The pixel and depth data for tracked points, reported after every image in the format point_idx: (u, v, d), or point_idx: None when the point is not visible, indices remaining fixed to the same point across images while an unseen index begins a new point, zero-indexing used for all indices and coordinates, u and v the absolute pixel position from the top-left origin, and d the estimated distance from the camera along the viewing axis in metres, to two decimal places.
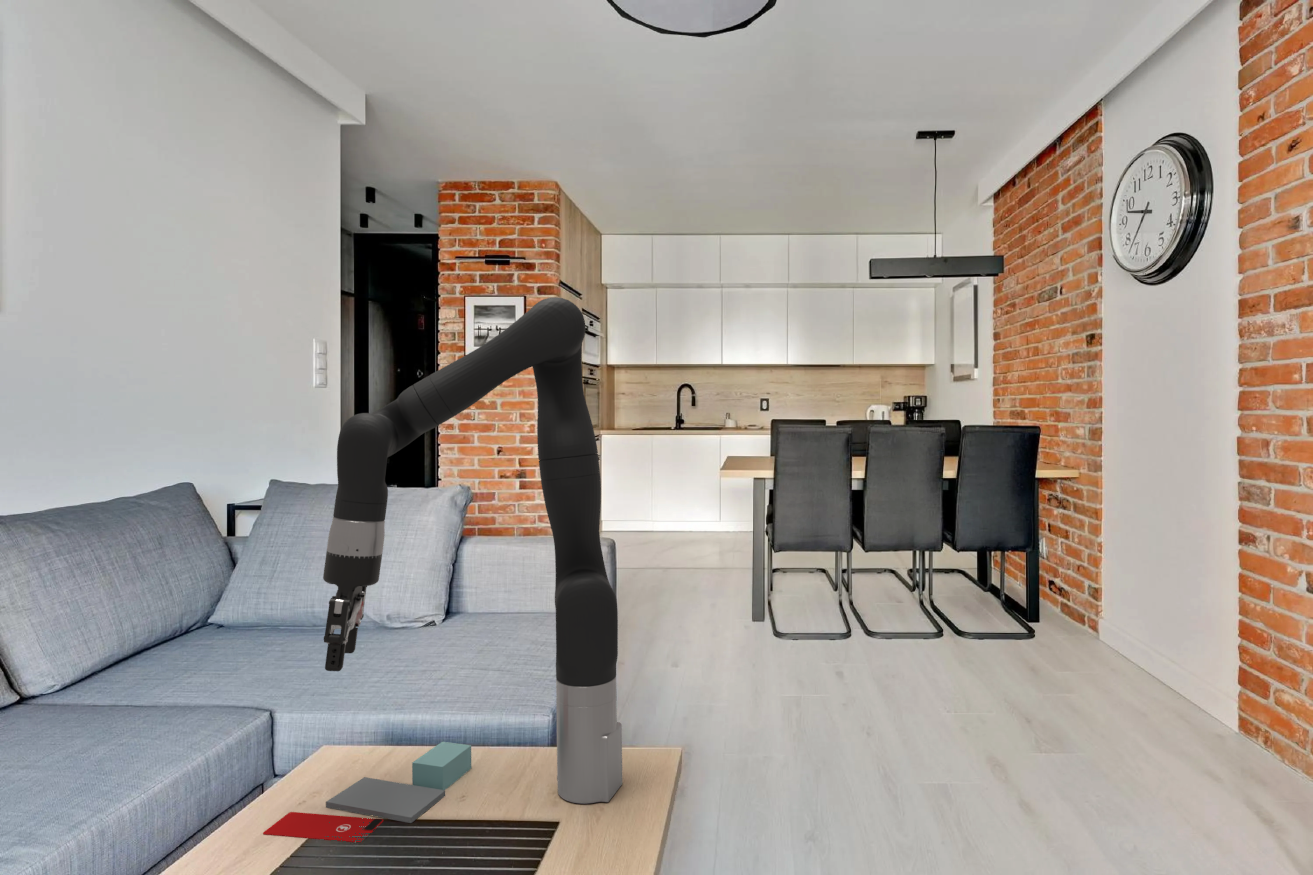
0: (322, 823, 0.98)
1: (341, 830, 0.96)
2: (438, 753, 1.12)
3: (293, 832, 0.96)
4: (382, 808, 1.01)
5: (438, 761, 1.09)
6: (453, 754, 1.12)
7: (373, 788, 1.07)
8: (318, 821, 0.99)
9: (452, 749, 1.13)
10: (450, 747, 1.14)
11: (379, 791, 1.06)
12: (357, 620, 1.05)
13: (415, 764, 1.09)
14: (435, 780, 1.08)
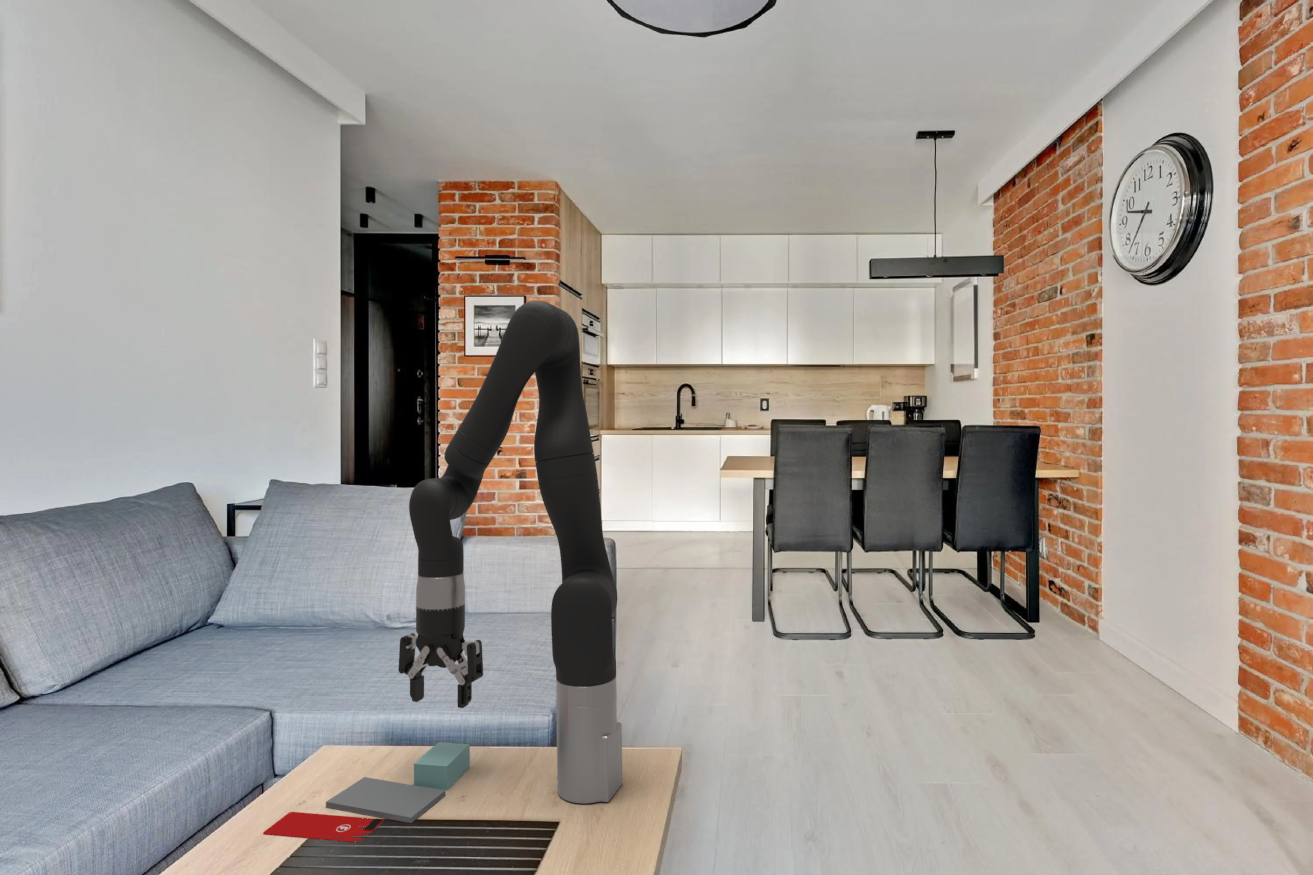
0: (322, 823, 0.98)
1: (341, 830, 0.96)
2: (438, 753, 1.12)
3: (293, 832, 0.96)
4: (382, 808, 1.01)
5: (440, 761, 1.09)
6: (453, 753, 1.12)
7: (373, 788, 1.07)
8: (318, 821, 0.99)
9: (451, 748, 1.14)
10: (449, 747, 1.14)
11: (379, 791, 1.06)
12: None
13: (417, 765, 1.08)
14: (439, 780, 1.08)
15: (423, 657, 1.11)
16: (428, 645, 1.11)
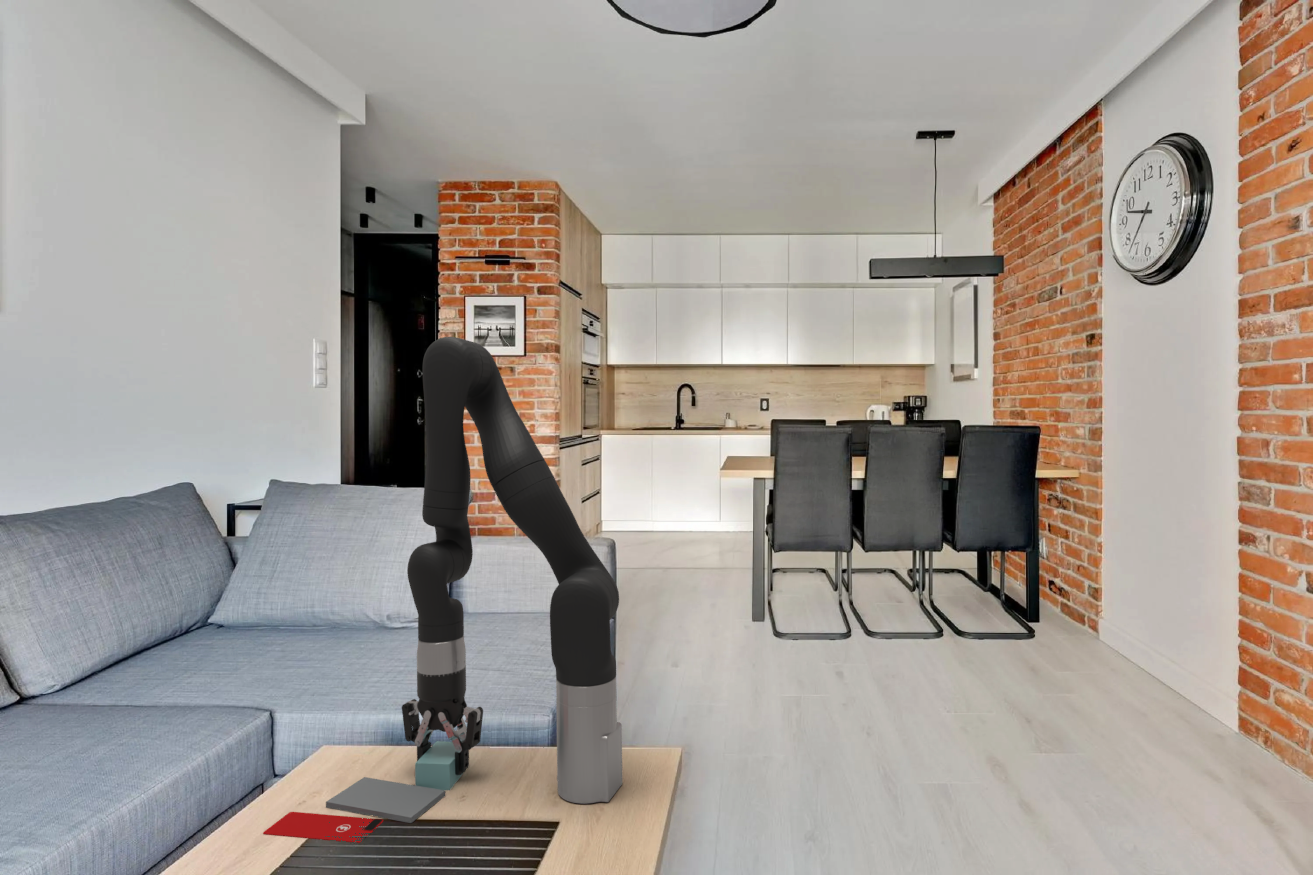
0: (322, 823, 0.98)
1: (341, 831, 0.96)
2: (438, 752, 1.12)
3: (293, 832, 0.96)
4: (382, 808, 1.01)
5: (442, 760, 1.09)
6: (454, 751, 1.12)
7: (373, 788, 1.07)
8: (318, 821, 0.99)
9: (451, 747, 1.14)
10: (448, 745, 1.14)
11: (379, 791, 1.06)
12: (432, 732, 1.14)
13: (418, 764, 1.08)
14: (441, 778, 1.08)
15: (426, 722, 1.11)
16: (429, 709, 1.11)
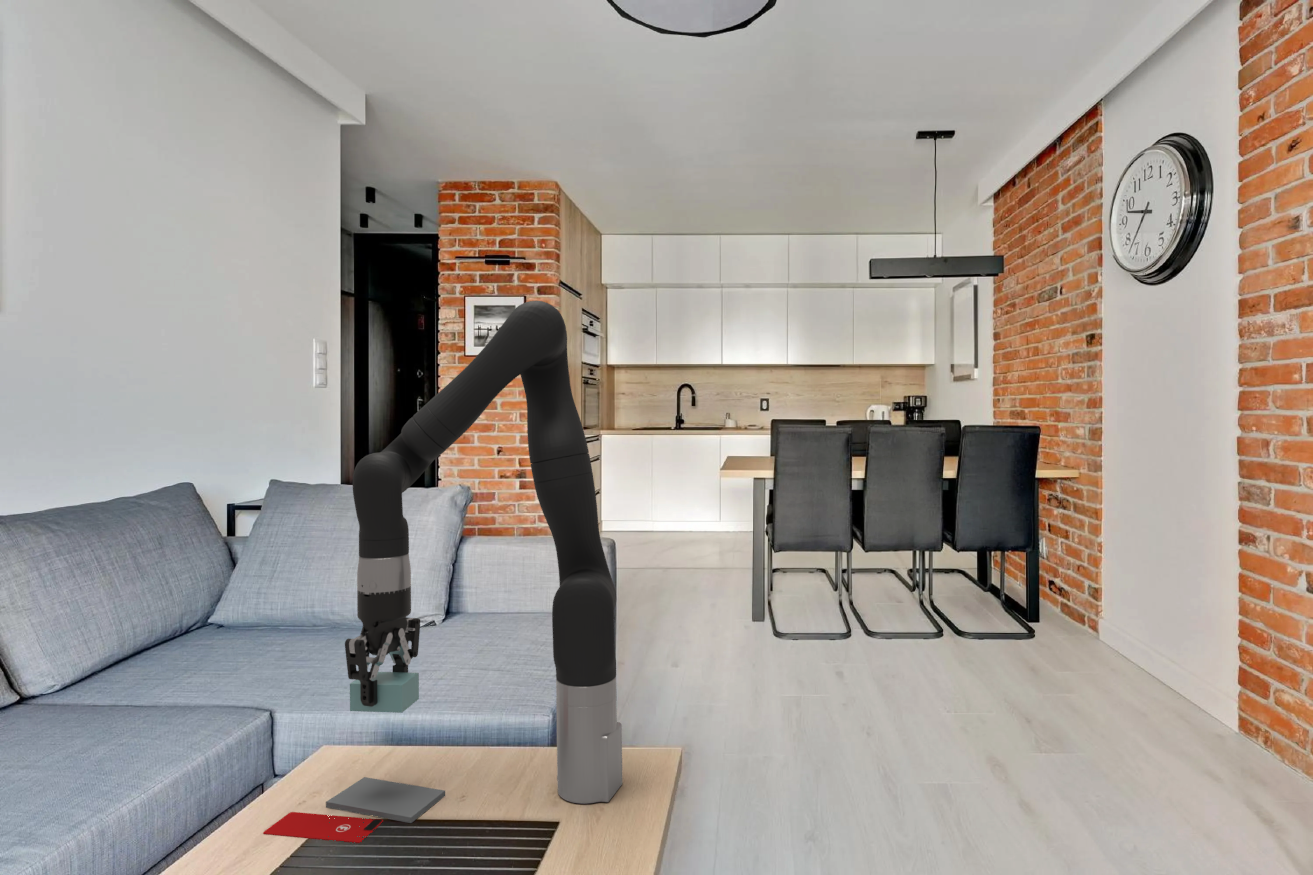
0: (322, 823, 0.98)
1: (341, 830, 0.96)
2: (384, 679, 1.04)
3: (293, 832, 0.96)
4: (382, 808, 1.01)
5: (406, 676, 1.05)
6: (389, 673, 1.06)
7: (373, 788, 1.07)
8: (318, 821, 0.99)
9: None
10: None
11: (379, 791, 1.06)
12: None
13: (403, 685, 1.02)
14: (414, 690, 1.06)
15: (386, 647, 1.02)
16: (387, 632, 1.03)
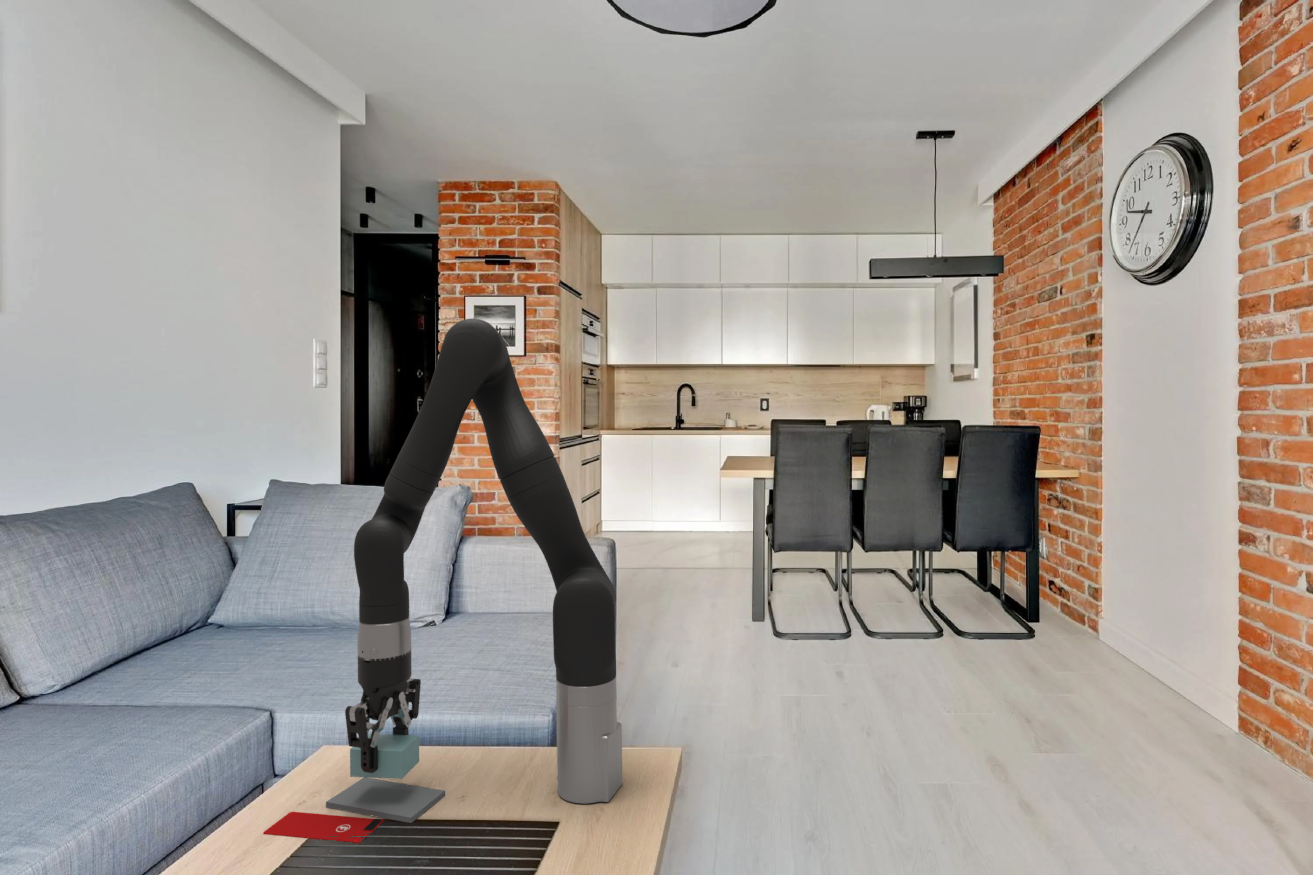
0: (322, 823, 0.98)
1: (341, 831, 0.96)
2: (384, 743, 1.04)
3: (293, 832, 0.96)
4: (382, 808, 1.01)
5: (406, 739, 1.05)
6: (389, 736, 1.06)
7: (373, 788, 1.07)
8: (318, 821, 0.99)
9: None
10: None
11: (379, 791, 1.06)
12: (366, 732, 1.02)
13: (404, 751, 1.02)
14: (415, 754, 1.06)
15: (386, 712, 1.02)
16: (387, 697, 1.03)
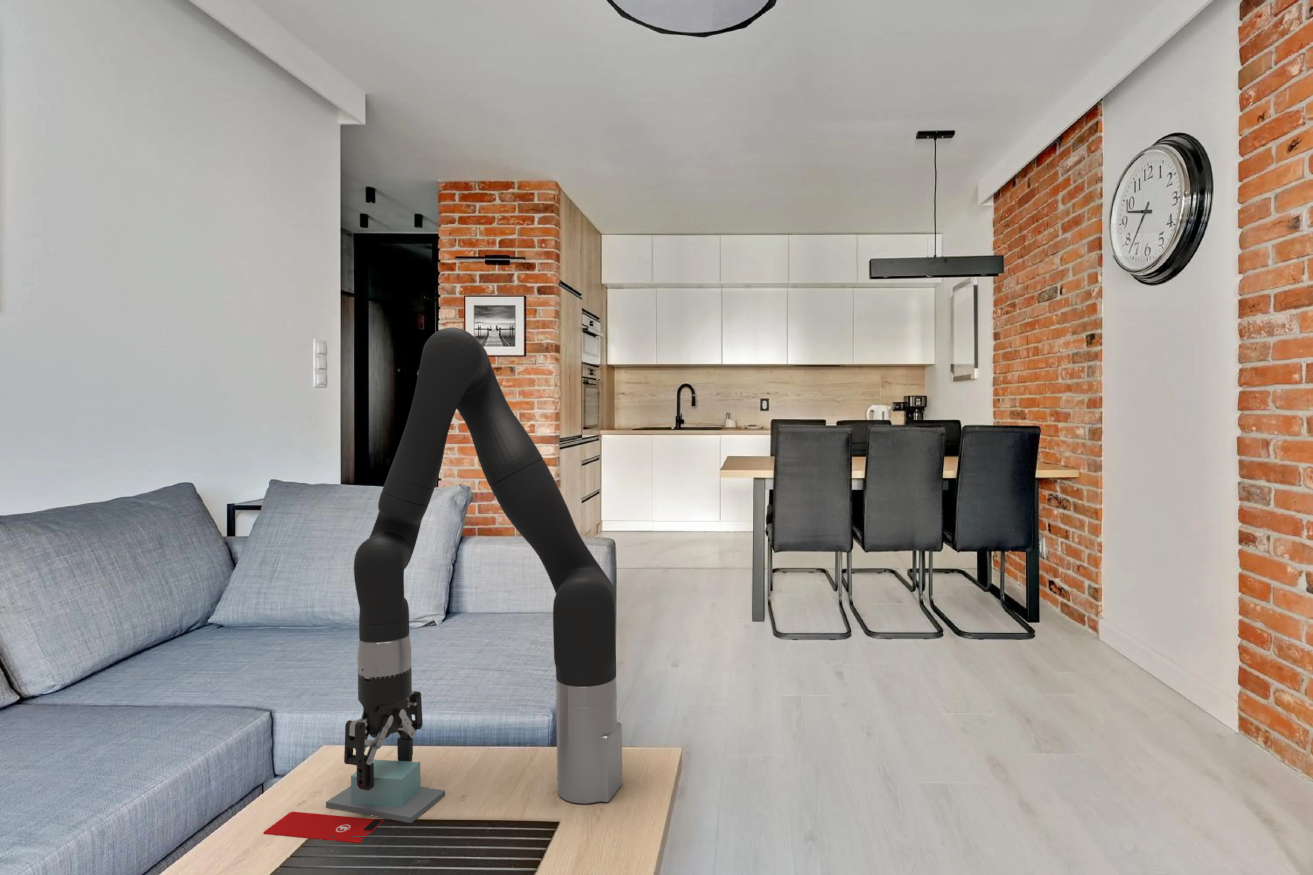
0: (322, 823, 0.98)
1: (341, 831, 0.96)
2: (385, 770, 1.04)
3: (293, 832, 0.96)
4: (382, 808, 1.01)
5: (407, 766, 1.05)
6: (391, 763, 1.06)
7: None
8: (318, 821, 0.99)
9: (377, 766, 1.05)
10: None
11: None
12: None
13: (403, 778, 1.02)
14: (416, 781, 1.05)
15: (386, 730, 1.02)
16: (388, 715, 1.03)
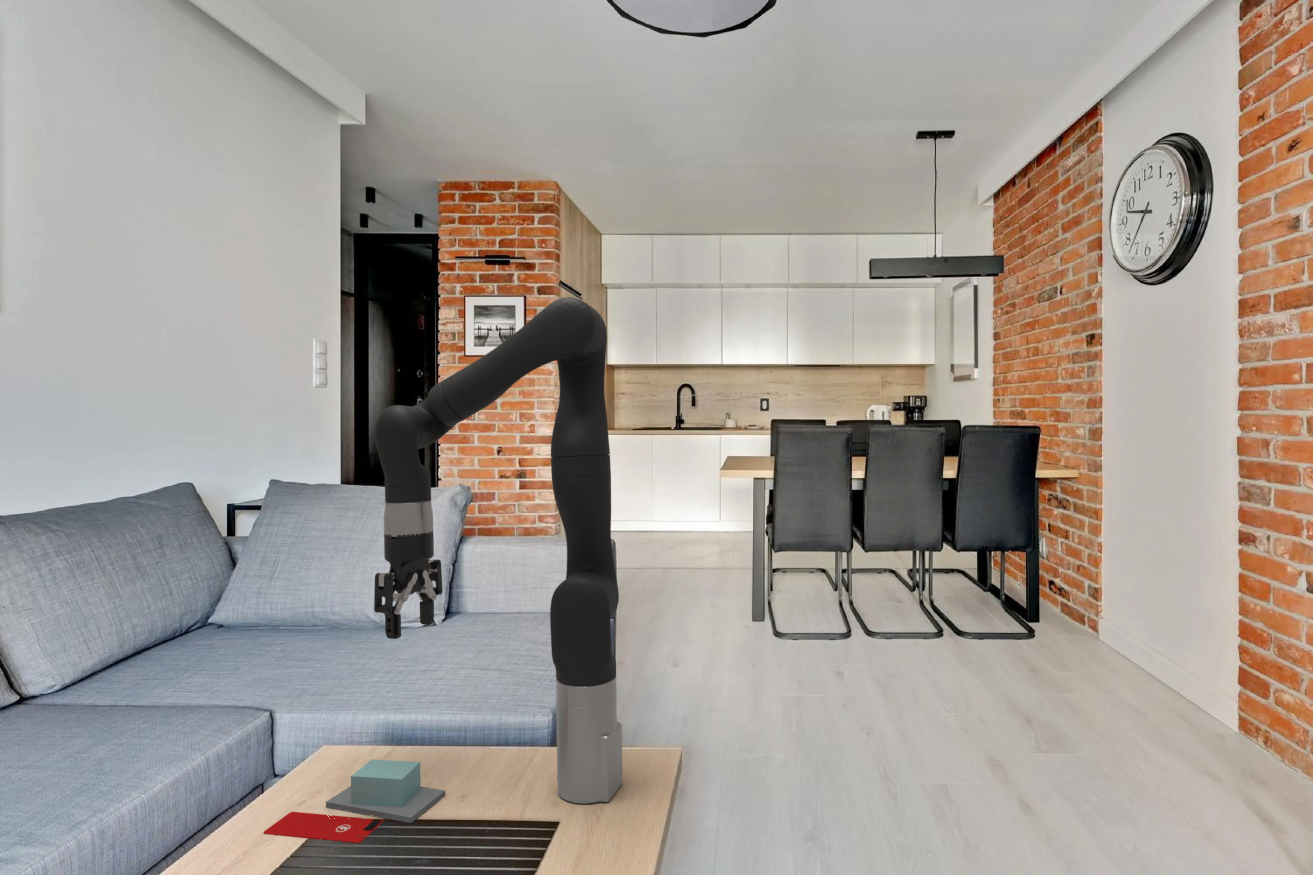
0: (322, 823, 0.98)
1: (341, 831, 0.96)
2: (385, 770, 1.04)
3: (293, 832, 0.96)
4: (382, 808, 1.01)
5: (407, 766, 1.05)
6: (391, 763, 1.06)
7: None
8: (318, 821, 0.99)
9: (377, 766, 1.05)
10: (371, 767, 1.05)
11: None
12: None
13: (403, 778, 1.02)
14: (416, 781, 1.05)
15: (411, 586, 1.10)
16: (413, 572, 1.11)
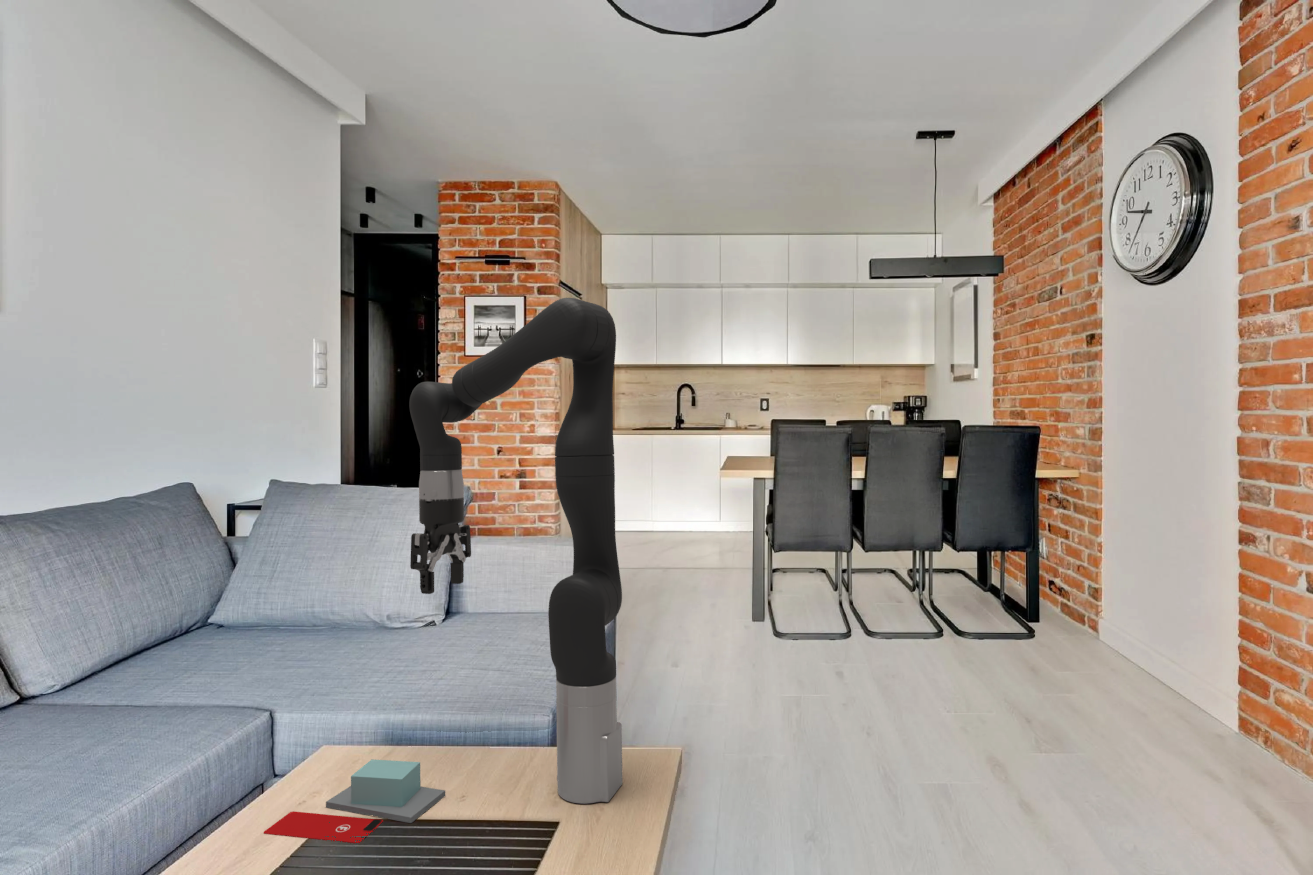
0: (323, 823, 0.98)
1: (341, 831, 0.96)
2: (385, 770, 1.04)
3: (293, 832, 0.96)
4: (382, 808, 1.01)
5: (407, 766, 1.05)
6: (391, 763, 1.06)
7: None
8: (318, 821, 0.99)
9: (377, 766, 1.05)
10: (371, 767, 1.05)
11: None
12: None
13: (403, 778, 1.02)
14: (416, 781, 1.05)
15: (443, 546, 1.20)
16: (445, 534, 1.21)
